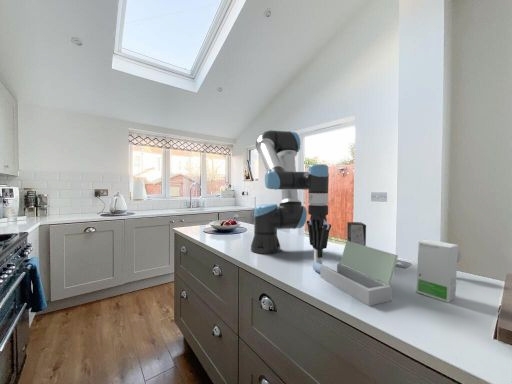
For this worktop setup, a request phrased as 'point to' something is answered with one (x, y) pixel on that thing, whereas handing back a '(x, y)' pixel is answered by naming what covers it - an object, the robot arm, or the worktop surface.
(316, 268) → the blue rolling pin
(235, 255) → the worktop surface
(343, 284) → the white u-shaped channel
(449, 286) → the skincare box
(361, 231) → the coffee box
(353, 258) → the cover
